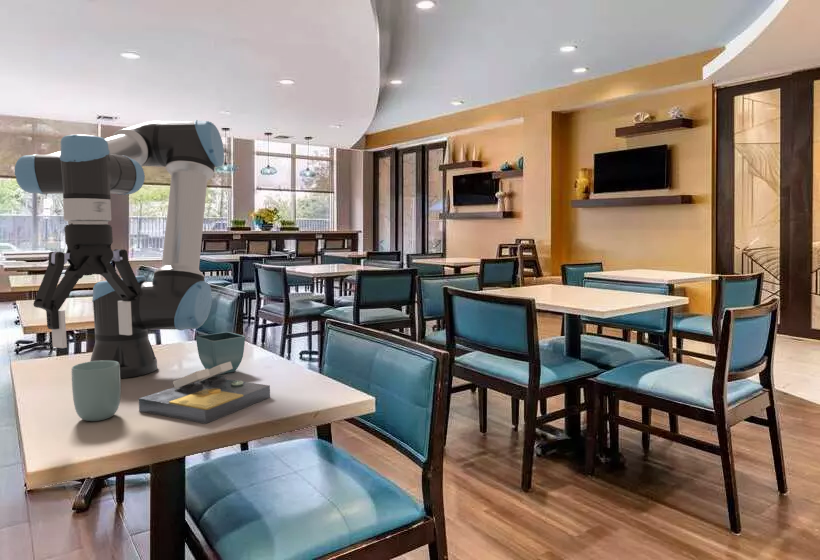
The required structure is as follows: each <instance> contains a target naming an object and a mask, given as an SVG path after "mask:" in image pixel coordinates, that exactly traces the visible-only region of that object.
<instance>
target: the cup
mask: <svg viewBox="0 0 820 560" xmlns="http://www.w3.org/2000/svg"><path fill="white" fill-rule="evenodd" d="M70 373H71V389H72V391H71V392H72V399H73V405H74V410H75V412H76V414H77V416H78V417H79V418H80V419H82V420H84V421H87V422H101V421H104V420H108V419H109V418H112V417H113V416H115V414H116V413H117V412H118V410H119V407H120V403H121V393H122V390H121V389H122V388H121V387H122V385H121V380H122V378H120V365H119V362H117V361H109V360H105V361H91V362H90V361H85V362H82V363H78V364H74V365H73V366H72V367H71V372H70Z"/></svg>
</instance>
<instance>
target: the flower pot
mask: <svg viewBox="0 0 820 560" xmlns="http://www.w3.org/2000/svg"><path fill="white" fill-rule="evenodd" d="M195 342H196V347H197V353H198V358H199V360H200V362H201V364H202V366H203V367H204V369H207V368H208V370H209V369H211V368H213V367H215V366H218V365H220V364H223V363H227V362H230V361H231V364H232V367H233V369H231V370H228V371H226V372H224V373H221V374H219V375H220V376H221V375H223V374H229V373H235V372H236V371H237V370H238V368H239V367H240V365H241V362H242V360H243V357H244V352H245V342H246V336H245V335H242V334H239V333H234V332H230V331H223V332H217V333H211V334H209V333H208V334H201V335H196V336H195Z"/></svg>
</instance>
